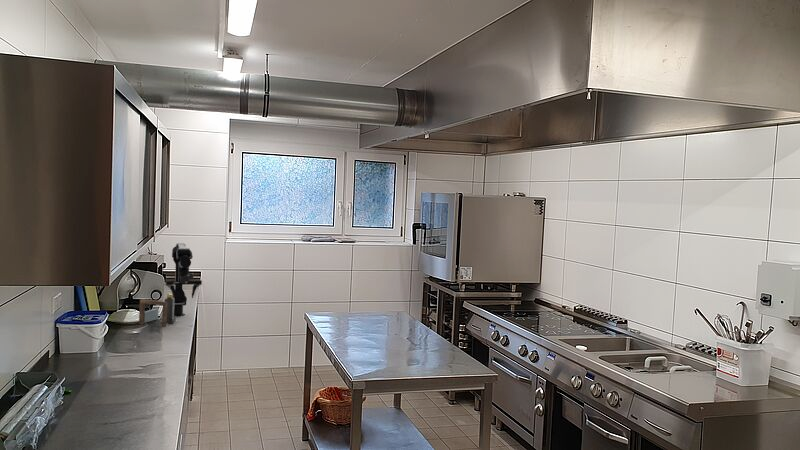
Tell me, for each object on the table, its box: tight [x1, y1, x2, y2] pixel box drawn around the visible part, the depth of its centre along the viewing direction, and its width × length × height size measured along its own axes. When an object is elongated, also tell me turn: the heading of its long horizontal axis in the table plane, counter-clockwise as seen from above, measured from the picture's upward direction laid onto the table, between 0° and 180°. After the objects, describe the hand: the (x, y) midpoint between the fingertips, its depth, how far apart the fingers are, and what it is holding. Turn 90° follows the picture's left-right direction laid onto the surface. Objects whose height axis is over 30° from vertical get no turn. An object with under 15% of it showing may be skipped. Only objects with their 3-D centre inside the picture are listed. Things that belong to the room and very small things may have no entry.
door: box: [144, 308, 159, 324], centre depth 343 cm, size 12×1×6 cm, turn 166°
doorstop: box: [164, 292, 176, 325], centre depth 342 cm, size 6×6×17 cm
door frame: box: [138, 298, 167, 328], centre depth 334 cm, size 2×16×14 cm, turn 76°
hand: (183, 298), depth 333 cm, fingers open, 9 cm apart
